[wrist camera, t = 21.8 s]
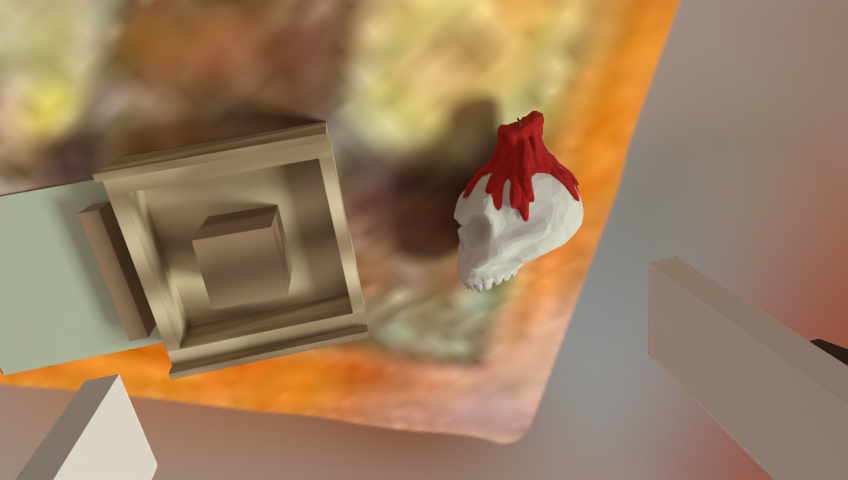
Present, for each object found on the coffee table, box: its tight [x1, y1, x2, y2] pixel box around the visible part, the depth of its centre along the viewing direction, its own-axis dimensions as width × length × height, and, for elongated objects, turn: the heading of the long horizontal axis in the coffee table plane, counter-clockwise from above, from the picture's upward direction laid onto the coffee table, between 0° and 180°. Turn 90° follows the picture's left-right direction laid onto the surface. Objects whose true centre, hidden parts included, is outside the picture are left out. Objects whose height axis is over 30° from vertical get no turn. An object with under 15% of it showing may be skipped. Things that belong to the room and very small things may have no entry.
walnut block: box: [192, 205, 293, 310], centre depth 46 cm, size 6×6×6 cm
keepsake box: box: [92, 121, 369, 380], centre depth 47 cm, size 18×17×6 cm
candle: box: [454, 111, 583, 292], centre depth 48 cm, size 9×11×15 cm
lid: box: [0, 179, 163, 375], centre depth 47 cm, size 16×16×3 cm
